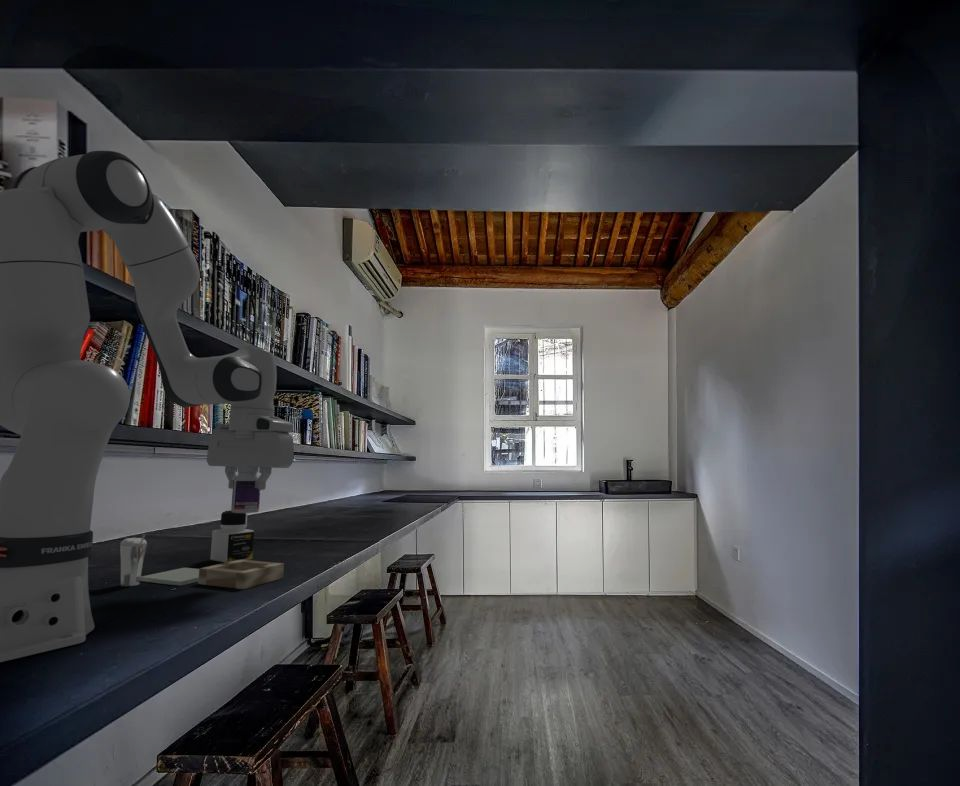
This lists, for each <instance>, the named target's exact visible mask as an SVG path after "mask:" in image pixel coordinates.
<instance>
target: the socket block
mask: <svg viewBox="0 0 960 786" xmlns="http://www.w3.org/2000/svg"><path fill="white" fill-rule="evenodd" d="M198 569H199V580H198V582H197V584H199V585H203V586H204V585H205V586H212V587H213V586H214V587H222V588H229V589H237V590H246V589H250V588H253V587H256V586H261V585H263V584H267V583H270V582H274V581H277V580H281V579H284V573H285V572H284V571H285V563H284V562H283V563H282V562H271V561H260V560H253V559H250V560H242V559H241V560H236V561H232V562H227V563H225V562H220V563H218V564H214V565H210V566H204V567H201V568H198Z"/></svg>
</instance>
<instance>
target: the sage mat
mask: <svg viewBox="0 0 960 786" xmlns="http://www.w3.org/2000/svg"><path fill="white" fill-rule="evenodd" d="M198 580H199V568H194V567H193V568H191V567H181V568H175V569H171V570H167V571H160V572H157V573H151V574H147V575H141V578H140V582H144V583H154V584H162V585H171V586H176V587H177V586H179V587H182V586H185V585H189V584H190V585H191V584H192V583H198Z"/></svg>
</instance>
